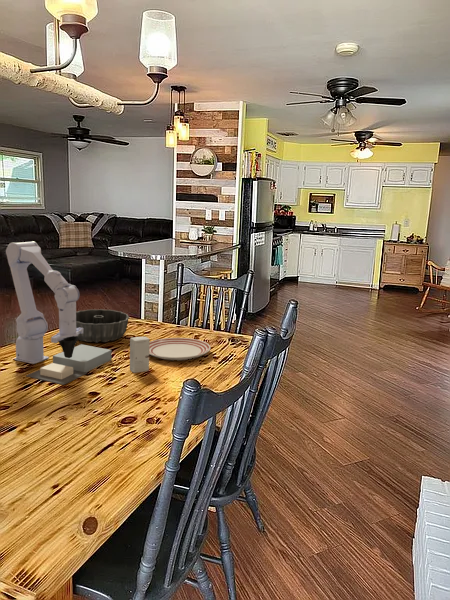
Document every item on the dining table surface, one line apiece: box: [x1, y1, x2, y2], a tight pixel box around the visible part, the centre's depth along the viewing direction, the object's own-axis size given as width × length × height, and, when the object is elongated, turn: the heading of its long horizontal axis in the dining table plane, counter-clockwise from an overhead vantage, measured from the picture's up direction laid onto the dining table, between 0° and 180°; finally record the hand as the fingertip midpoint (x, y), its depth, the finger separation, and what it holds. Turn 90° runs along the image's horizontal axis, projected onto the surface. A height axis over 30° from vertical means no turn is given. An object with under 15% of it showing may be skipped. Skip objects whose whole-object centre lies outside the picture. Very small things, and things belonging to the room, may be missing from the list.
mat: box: [25, 369, 88, 386], centre depth 162 cm, size 16×12×1 cm
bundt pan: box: [75, 308, 130, 344], centre depth 206 cm, size 26×26×10 cm
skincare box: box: [129, 336, 151, 374], centre depth 169 cm, size 6×4×12 cm
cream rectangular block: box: [39, 362, 73, 379], centre depth 161 cm, size 9×6×2 cm, turn 69°
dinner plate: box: [149, 337, 211, 362], centre depth 191 cm, size 27×27×3 cm
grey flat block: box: [52, 343, 112, 373], centre depth 174 cm, size 14×16×4 cm
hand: (68, 357), depth 166 cm, fingers closed
